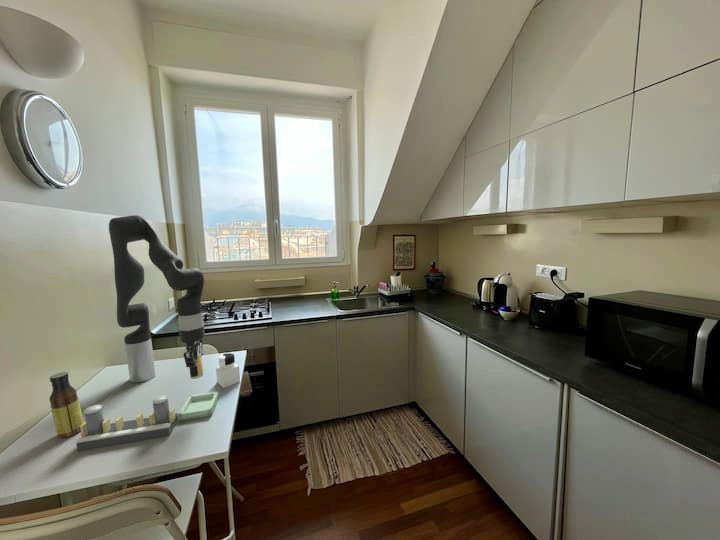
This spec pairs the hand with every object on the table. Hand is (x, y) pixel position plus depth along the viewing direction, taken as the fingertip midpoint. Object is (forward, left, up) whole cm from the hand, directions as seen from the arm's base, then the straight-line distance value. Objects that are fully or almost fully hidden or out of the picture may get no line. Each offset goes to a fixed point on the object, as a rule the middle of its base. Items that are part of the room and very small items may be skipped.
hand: (196, 372), depth 104 cm
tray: (0, 0, -14) cm, 14 cm away
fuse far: (+9, -8, -11) cm, 17 cm away
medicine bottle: (-18, +7, -14) cm, 24 cm away
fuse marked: (0, 0, -1) cm, 1 cm away
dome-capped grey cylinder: (+9, -26, -11) cm, 30 cm away
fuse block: (+9, -17, -14) cm, 24 cm away
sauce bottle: (+2, -37, -14) cm, 40 cm away
